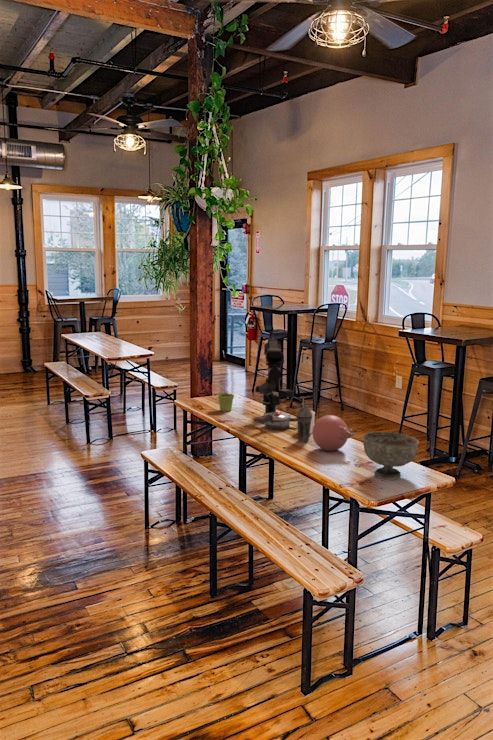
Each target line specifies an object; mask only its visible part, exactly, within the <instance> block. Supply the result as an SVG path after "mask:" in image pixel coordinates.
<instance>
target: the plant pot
mask: <svg viewBox="0 0 493 740" xmlns="http://www.w3.org/2000/svg"><path fill="white" fill-rule="evenodd" d="M234 398H235V394H233V393H220V394H217V399H218V403H219V411H221V412H224V413H227V412H231V411H232V409H233V408H232V407H233V401H234Z"/></svg>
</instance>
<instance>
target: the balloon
mask: <svg viewBox="0 0 493 740" xmlns="http://www.w3.org/2000/svg"><path fill="white" fill-rule="evenodd" d="M351 437H354V431H353V429H351V428H350V429H349V428H348V426H347V424H346V422H345V421H344V420H343V419H342V418H341V417H339V416H336V415H331V414H328V415H327V414H326V415H324V416H323V415H322V417H320V418H319V419H317V420H316V422H314V427H313V431H312V439H313V441H314V443H315V445H316V446H317V447H319V448H320V449H322V450H324V451H327V452H328V451H329V452H335V451H338V450H340V449H341V448H343V446H345V444H346V442H348V440H349V439H351Z"/></svg>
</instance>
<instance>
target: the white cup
mask: <svg viewBox="0 0 493 740" xmlns="http://www.w3.org/2000/svg"><path fill="white" fill-rule="evenodd" d="M310 411H311V413H312V420H311V425H310V433H309V435H311V434H312V431H313V427H314V424H315V417H316V412H315V411H313V410H310Z"/></svg>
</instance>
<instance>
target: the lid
mask: <svg viewBox="0 0 493 740" xmlns="http://www.w3.org/2000/svg"><path fill="white" fill-rule="evenodd" d="M291 416H292V415H291V414H290V413H288V412H283V411H276V412H270V413H266V414H265V416H260V417H256V418H257V421H256V422H257V423H258V424H261V425H262V424H264V423H265V424H266V422H268V421H271V420H274V421H284V420H289V419H290V418H292V417H291Z"/></svg>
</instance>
